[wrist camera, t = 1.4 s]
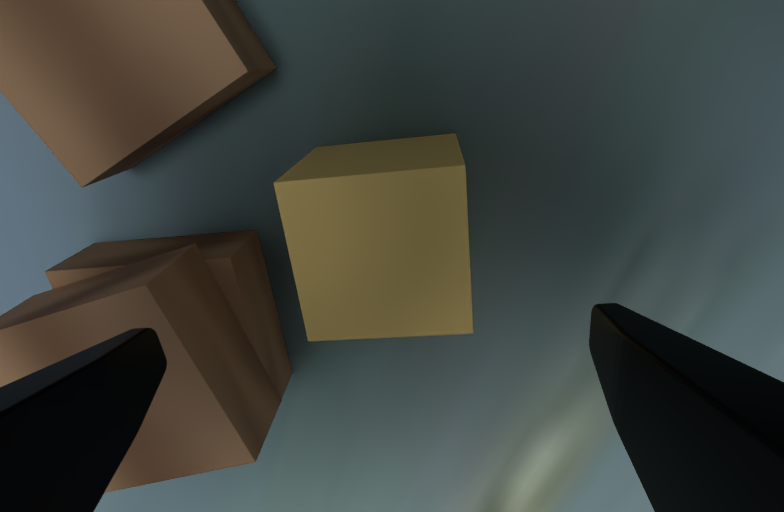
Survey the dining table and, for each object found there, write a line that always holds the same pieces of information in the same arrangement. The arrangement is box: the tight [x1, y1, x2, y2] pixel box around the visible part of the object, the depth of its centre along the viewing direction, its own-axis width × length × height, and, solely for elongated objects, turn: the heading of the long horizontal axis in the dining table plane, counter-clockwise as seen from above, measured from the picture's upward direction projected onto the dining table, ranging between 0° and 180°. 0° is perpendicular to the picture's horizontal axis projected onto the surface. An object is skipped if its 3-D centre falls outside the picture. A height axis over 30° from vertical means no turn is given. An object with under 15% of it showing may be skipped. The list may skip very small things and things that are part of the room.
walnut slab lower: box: [45, 230, 292, 398], centre depth 19 cm, size 7×7×3 cm
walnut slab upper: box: [0, 243, 282, 493], centre depth 16 cm, size 7×7×3 cm
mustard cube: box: [274, 133, 473, 342], centre depth 15 cm, size 5×5×5 cm
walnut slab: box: [0, 0, 276, 187], centre depth 14 cm, size 7×7×3 cm
